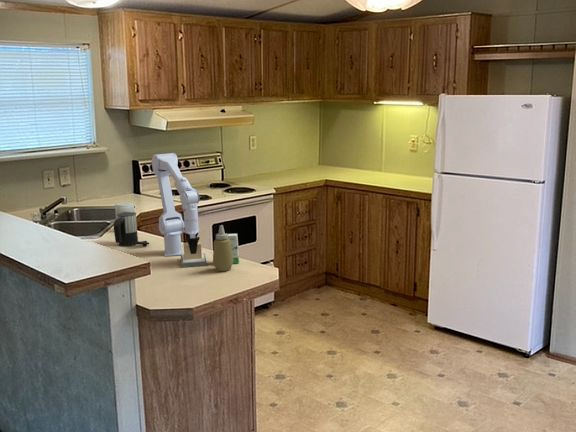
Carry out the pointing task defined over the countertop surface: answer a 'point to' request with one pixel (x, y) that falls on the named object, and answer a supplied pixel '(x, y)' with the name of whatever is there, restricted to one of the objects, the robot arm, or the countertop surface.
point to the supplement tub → (123, 207)
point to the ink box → (234, 247)
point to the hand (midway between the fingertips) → (193, 251)
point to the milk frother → (127, 230)
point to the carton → (187, 252)
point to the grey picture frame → (193, 261)
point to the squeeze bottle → (222, 251)
